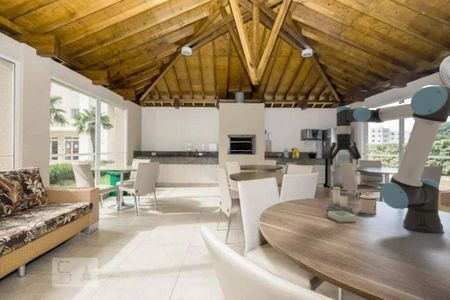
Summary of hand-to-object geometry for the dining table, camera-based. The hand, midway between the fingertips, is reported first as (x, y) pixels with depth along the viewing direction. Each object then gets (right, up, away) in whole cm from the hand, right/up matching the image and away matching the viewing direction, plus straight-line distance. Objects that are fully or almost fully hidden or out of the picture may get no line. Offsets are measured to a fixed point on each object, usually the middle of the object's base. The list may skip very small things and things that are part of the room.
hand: (343, 170), depth 155 cm
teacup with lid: (+16, -25, +5) cm, 30 cm away
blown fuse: (0, -22, 0) cm, 23 cm away
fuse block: (-1, -24, +3) cm, 25 cm away
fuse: (-1, -22, +7) cm, 23 cm away
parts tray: (-6, -25, -12) cm, 28 cm away
